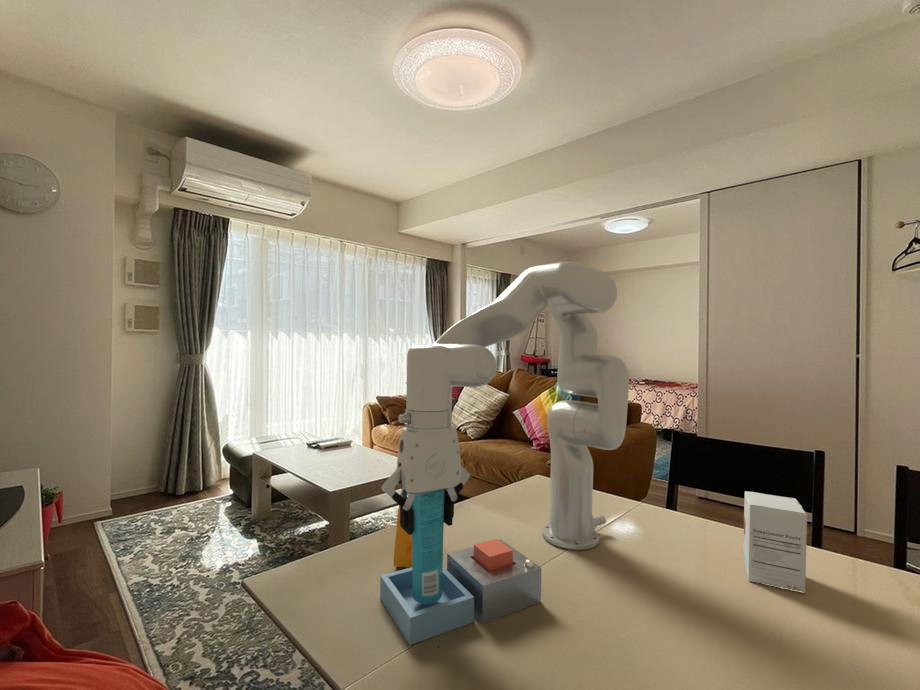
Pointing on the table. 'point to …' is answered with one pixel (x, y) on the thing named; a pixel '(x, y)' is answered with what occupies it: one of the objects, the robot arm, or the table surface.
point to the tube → (428, 546)
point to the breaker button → (493, 555)
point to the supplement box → (775, 540)
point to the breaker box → (497, 583)
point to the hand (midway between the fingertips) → (427, 525)
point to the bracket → (402, 546)
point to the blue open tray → (425, 606)
